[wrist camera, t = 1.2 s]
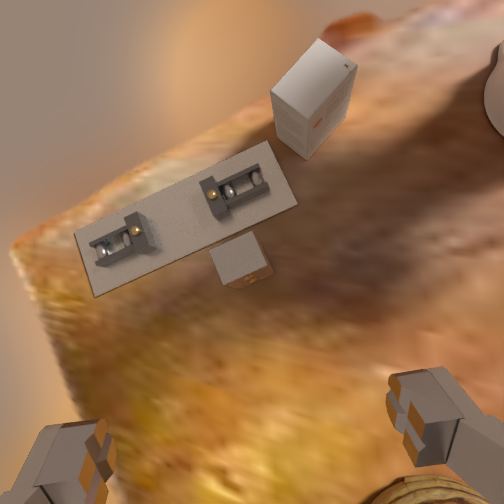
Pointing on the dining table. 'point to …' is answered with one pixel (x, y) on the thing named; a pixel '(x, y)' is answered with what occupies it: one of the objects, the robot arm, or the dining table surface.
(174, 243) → the grey long flat board
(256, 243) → the mini drawer chest
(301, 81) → the small box
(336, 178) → the dining table surface
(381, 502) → the tankard
